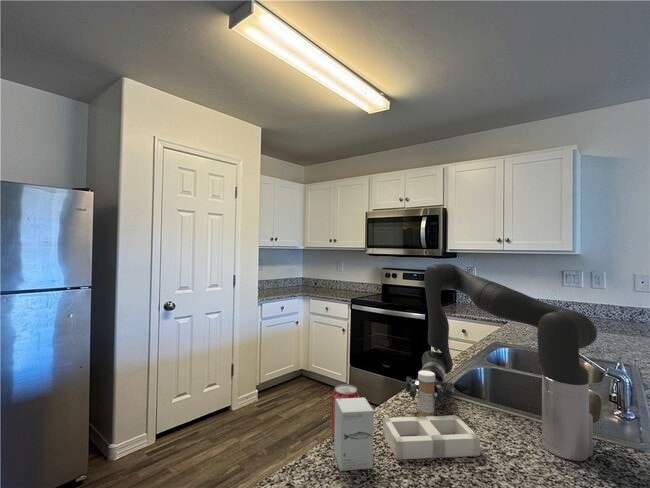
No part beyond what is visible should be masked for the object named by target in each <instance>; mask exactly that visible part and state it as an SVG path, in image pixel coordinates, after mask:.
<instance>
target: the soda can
mask: <svg viewBox="0 0 650 488" xmlns="http://www.w3.org/2000/svg"><path fill="white" fill-rule="evenodd" d="M343 398H360V394H359V393H358V388H357V387H356V386H354V385H352V384H346V383H345V384H342V383H341V384H338V385H336V386H335V387H334V391H333V393H332V396H331V422H330V423H331V435H332V436H333V435H334V429H335V399H343Z"/></svg>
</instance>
